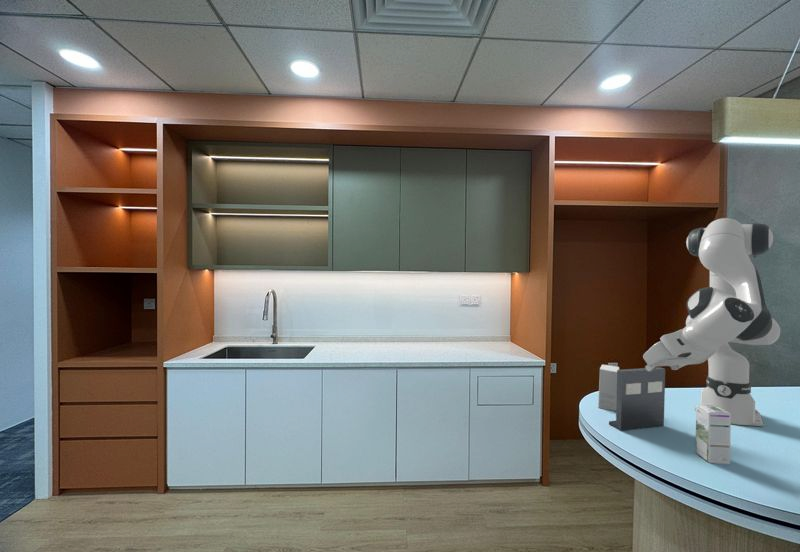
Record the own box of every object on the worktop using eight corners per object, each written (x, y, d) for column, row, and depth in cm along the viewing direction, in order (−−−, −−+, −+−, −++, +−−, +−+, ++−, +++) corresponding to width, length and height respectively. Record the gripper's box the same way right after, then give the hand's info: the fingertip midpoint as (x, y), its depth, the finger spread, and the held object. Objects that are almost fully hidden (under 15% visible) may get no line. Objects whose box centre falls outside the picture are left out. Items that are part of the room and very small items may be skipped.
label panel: (650, 420, 129) (651, 364, 128) (664, 426, 124) (666, 368, 123) (608, 424, 125) (610, 367, 124) (621, 431, 119) (622, 371, 119)
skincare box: (600, 401, 147) (601, 363, 147) (619, 405, 143) (620, 366, 143) (597, 408, 140) (598, 368, 140) (617, 412, 136) (618, 371, 136)
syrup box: (731, 465, 99) (732, 413, 99) (707, 463, 100) (708, 411, 100) (716, 454, 105) (717, 405, 105) (694, 452, 106) (695, 404, 105)
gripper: (713, 333, 106) (680, 358, 115) (658, 335, 101) (627, 361, 111) (730, 351, 102) (694, 376, 111) (673, 354, 97) (640, 379, 106)
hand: (660, 368), depth 111 cm, fingers open, 8 cm apart
